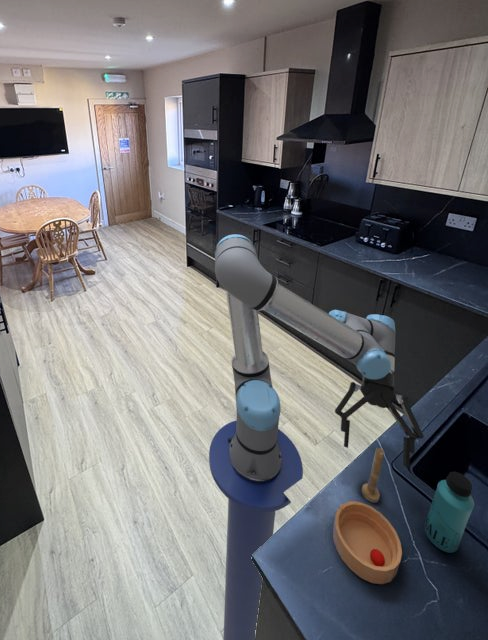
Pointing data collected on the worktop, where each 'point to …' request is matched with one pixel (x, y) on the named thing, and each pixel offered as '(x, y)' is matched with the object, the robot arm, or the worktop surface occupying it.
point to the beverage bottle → (449, 512)
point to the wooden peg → (374, 478)
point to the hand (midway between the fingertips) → (375, 456)
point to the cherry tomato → (377, 557)
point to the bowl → (366, 541)
